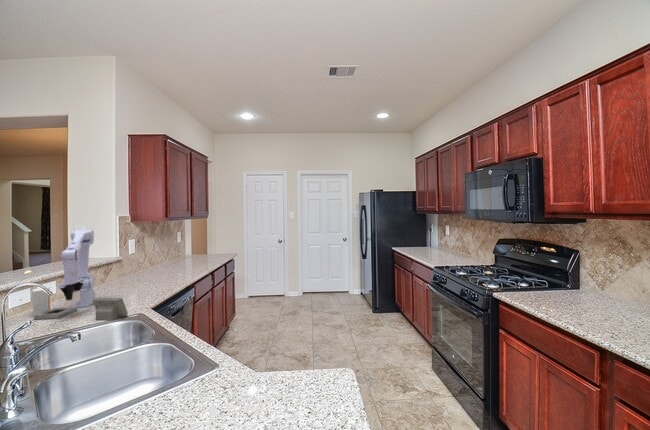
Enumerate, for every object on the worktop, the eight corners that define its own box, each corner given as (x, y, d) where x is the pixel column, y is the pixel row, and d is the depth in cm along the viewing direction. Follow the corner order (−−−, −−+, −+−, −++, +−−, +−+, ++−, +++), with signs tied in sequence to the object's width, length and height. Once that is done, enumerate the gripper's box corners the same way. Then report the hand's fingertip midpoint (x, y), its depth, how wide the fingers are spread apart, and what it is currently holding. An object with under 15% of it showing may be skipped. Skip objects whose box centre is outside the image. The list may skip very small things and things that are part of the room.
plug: (71, 301, 156) (70, 289, 156) (80, 300, 156) (79, 288, 156) (65, 303, 152) (64, 291, 152) (74, 303, 152) (73, 290, 152)
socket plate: (54, 311, 161) (54, 307, 161) (77, 310, 162) (77, 306, 162) (34, 319, 149) (33, 314, 149) (59, 318, 150) (58, 313, 150)
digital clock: (130, 316, 151) (129, 295, 151) (112, 322, 142) (111, 300, 142) (107, 313, 156) (107, 293, 156) (89, 319, 147) (88, 298, 147)
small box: (49, 313, 158) (48, 289, 158) (32, 316, 154) (31, 291, 154) (50, 309, 165) (49, 286, 164) (34, 312, 161) (33, 288, 160)
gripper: (68, 275, 147) (69, 302, 147) (89, 269, 161) (90, 294, 161) (53, 275, 146) (54, 303, 146) (76, 270, 161) (77, 294, 161)
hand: (72, 298), depth 154 cm, fingers closed on plug, 4 cm apart
